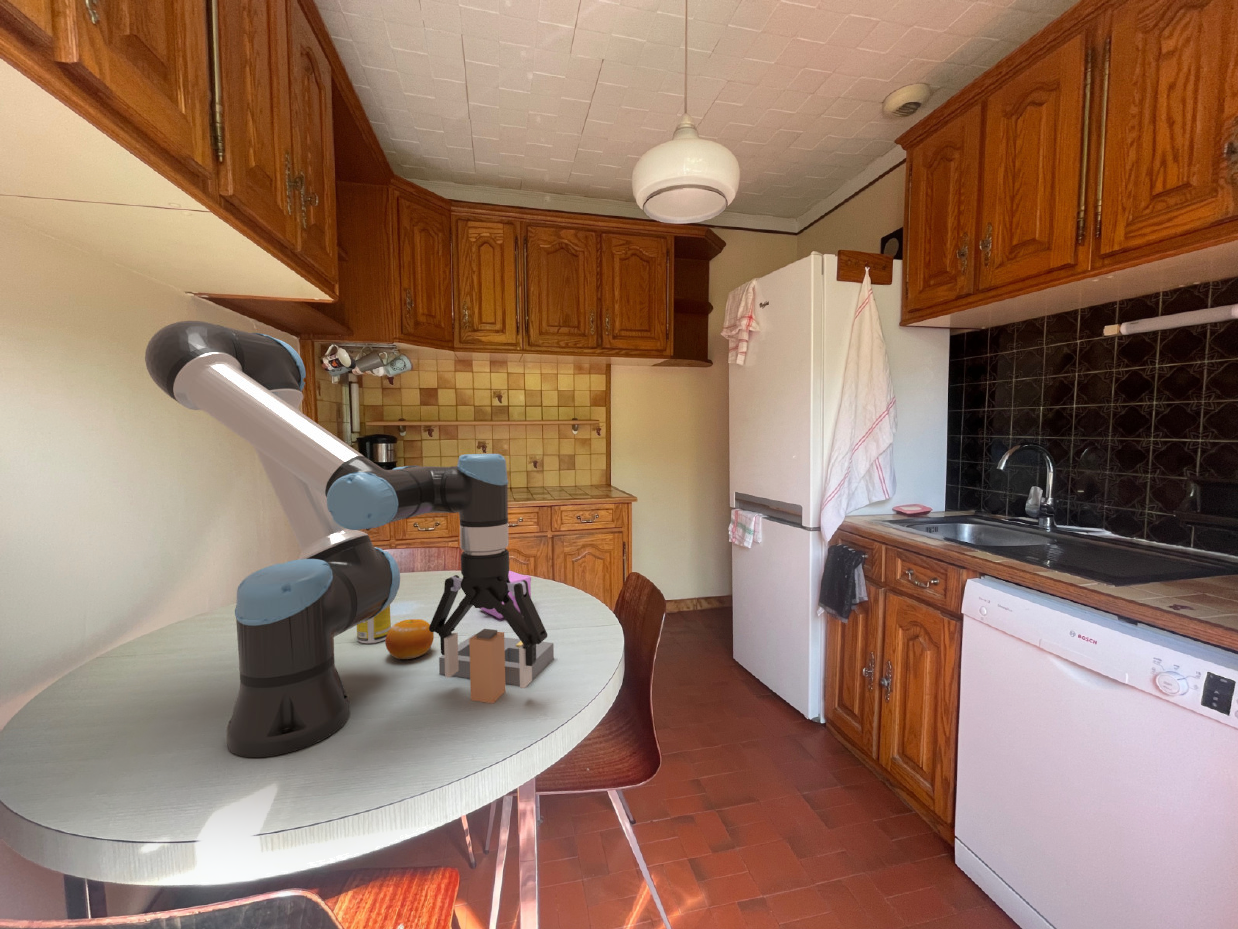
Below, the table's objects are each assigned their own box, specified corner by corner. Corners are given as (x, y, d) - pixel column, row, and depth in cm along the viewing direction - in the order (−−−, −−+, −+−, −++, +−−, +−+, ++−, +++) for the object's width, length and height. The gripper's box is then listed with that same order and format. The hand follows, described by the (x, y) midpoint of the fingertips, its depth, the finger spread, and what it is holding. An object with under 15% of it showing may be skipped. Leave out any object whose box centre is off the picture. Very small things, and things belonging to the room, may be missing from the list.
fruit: (442, 626, 107) (420, 600, 103) (439, 657, 99) (415, 630, 95) (406, 645, 107) (382, 620, 103) (399, 677, 99) (373, 651, 95)
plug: (492, 703, 83) (491, 637, 82) (470, 700, 84) (469, 635, 83) (505, 691, 86) (504, 628, 86) (484, 688, 88) (482, 626, 87)
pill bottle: (397, 633, 113) (395, 580, 112) (380, 645, 106) (378, 589, 106) (368, 632, 113) (366, 579, 113) (350, 644, 107) (348, 588, 106)
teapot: (461, 608, 128) (460, 568, 128) (510, 596, 138) (510, 558, 137) (498, 628, 115) (497, 583, 115) (550, 613, 125) (549, 571, 124)
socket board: (526, 686, 88) (525, 666, 88) (439, 674, 93) (439, 655, 93) (553, 658, 99) (553, 640, 99) (475, 648, 104) (474, 632, 104)
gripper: (566, 549, 84) (568, 678, 85) (433, 541, 91) (436, 660, 92) (546, 559, 77) (549, 700, 78) (403, 550, 84) (408, 679, 85)
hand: (488, 679), depth 85 cm, fingers open, 13 cm apart
